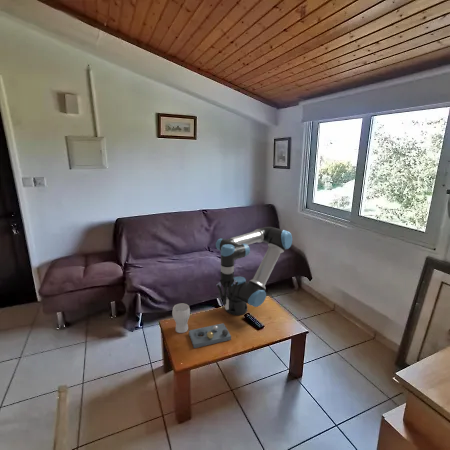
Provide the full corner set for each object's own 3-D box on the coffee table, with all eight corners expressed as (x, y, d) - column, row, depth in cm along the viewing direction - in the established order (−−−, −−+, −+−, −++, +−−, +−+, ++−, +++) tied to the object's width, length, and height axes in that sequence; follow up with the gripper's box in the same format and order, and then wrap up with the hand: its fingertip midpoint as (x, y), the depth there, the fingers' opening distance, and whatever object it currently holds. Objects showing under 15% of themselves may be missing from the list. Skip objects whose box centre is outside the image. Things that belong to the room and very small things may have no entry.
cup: (187, 335, 164) (186, 313, 160) (170, 333, 166) (169, 311, 162) (192, 325, 174) (192, 303, 170) (176, 322, 176) (175, 301, 172)
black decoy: (226, 332, 164) (226, 327, 163) (228, 336, 160) (228, 331, 160) (221, 333, 162) (221, 328, 162) (223, 337, 159) (223, 332, 158)
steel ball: (217, 328, 167) (217, 323, 166) (219, 331, 164) (219, 326, 163) (212, 329, 166) (212, 324, 165) (213, 333, 163) (213, 328, 162)
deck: (223, 326, 173) (223, 323, 172) (231, 339, 161) (231, 336, 161) (188, 334, 166) (188, 330, 165) (194, 348, 154) (193, 344, 153)
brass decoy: (212, 335, 161) (212, 329, 160) (214, 339, 158) (214, 333, 156) (205, 336, 160) (205, 330, 159) (207, 341, 156) (207, 335, 155)
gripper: (235, 267, 163) (234, 303, 169) (214, 270, 159) (214, 307, 165) (240, 272, 156) (239, 309, 162) (218, 275, 152) (218, 313, 158)
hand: (226, 308), depth 164 cm, fingers closed
